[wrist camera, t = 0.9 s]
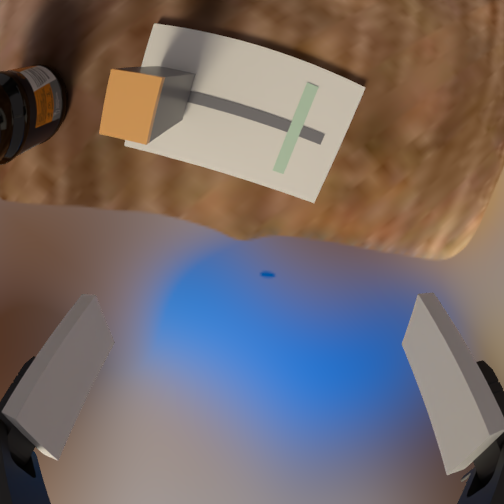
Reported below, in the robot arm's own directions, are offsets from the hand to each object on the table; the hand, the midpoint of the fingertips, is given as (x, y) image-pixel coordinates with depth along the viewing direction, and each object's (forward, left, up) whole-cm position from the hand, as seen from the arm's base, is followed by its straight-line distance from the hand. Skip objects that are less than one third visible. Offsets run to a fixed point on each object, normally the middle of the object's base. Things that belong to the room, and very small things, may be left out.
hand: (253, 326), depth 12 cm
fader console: (-4, -4, -24) cm, 24 cm away
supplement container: (0, -29, -24) cm, 37 cm away
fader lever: (-4, -11, -22) cm, 25 cm away
